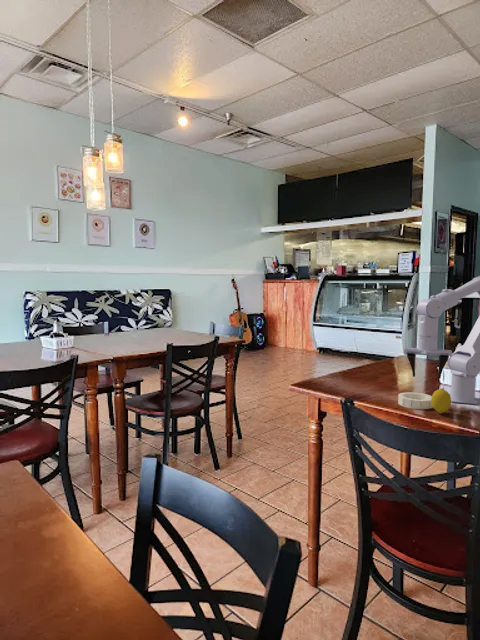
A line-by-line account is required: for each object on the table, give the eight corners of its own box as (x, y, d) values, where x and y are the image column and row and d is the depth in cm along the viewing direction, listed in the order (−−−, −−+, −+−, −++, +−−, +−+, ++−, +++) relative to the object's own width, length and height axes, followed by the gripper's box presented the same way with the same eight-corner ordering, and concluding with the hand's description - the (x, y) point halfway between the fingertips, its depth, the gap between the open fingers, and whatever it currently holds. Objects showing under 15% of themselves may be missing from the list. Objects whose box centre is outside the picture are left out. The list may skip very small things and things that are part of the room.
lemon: (427, 412, 138) (428, 387, 138) (439, 410, 141) (440, 385, 140) (441, 417, 133) (442, 391, 133) (454, 415, 135) (455, 389, 135)
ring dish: (398, 399, 154) (398, 391, 154) (432, 402, 150) (432, 394, 150) (397, 407, 144) (398, 398, 143) (434, 410, 140) (435, 402, 140)
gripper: (404, 336, 144) (402, 377, 145) (453, 338, 139) (451, 381, 140) (404, 334, 150) (402, 373, 151) (451, 336, 145) (449, 376, 146)
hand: (426, 376), depth 146 cm, fingers open, 7 cm apart
